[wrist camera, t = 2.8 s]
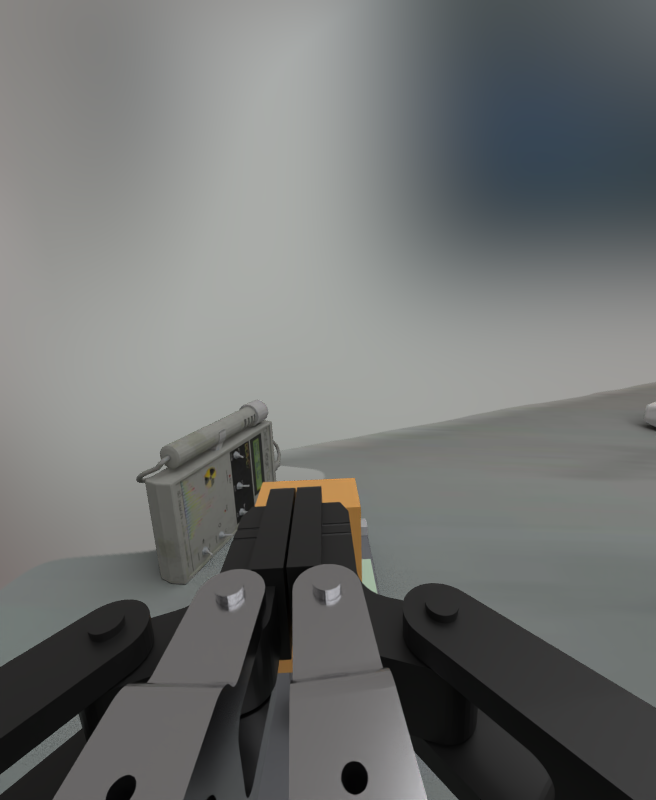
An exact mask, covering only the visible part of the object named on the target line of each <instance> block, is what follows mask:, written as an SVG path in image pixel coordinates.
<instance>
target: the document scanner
mask: <svg viewBox="0 0 656 800" xmlns="http://www.w3.org/2000/svg"><path fill="white" fill-rule="evenodd" d="M644 421H645V422H647V423H648V424H650V425H652V426H654V427H656V402H654V403H651V404H649V405H647V406H646V410H645V415H644Z"/></svg>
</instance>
